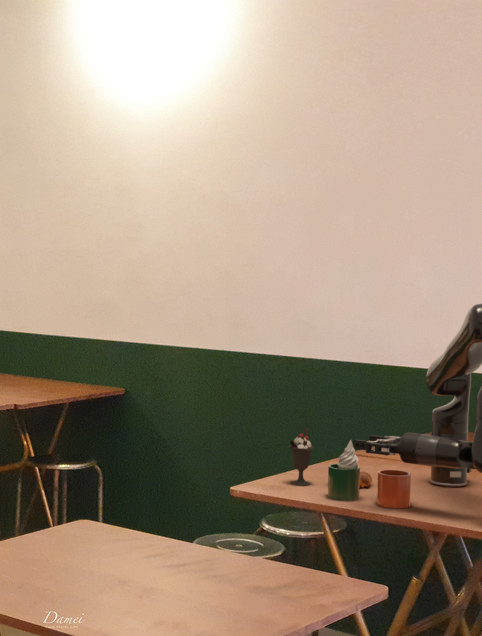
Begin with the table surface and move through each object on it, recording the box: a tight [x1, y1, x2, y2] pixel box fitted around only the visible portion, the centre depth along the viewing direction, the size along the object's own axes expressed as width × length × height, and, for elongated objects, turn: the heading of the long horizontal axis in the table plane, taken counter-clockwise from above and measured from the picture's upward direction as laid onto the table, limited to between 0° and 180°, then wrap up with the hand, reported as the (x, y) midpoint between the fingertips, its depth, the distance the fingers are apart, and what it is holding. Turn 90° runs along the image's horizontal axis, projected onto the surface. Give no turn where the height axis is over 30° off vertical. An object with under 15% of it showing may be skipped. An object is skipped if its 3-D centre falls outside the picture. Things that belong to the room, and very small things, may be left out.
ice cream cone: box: [336, 439, 359, 469], centre depth 279 cm, size 5×5×15 cm
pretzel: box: [360, 471, 373, 488], centre depth 294 cm, size 12×11×4 cm
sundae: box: [288, 427, 315, 486], centre depth 296 cm, size 7×7×15 cm
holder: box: [376, 469, 412, 509], centre depth 272 cm, size 8×8×8 cm
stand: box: [327, 463, 361, 502], centre depth 280 cm, size 8×8×8 cm
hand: (361, 441), depth 276 cm, fingers open, 8 cm apart
